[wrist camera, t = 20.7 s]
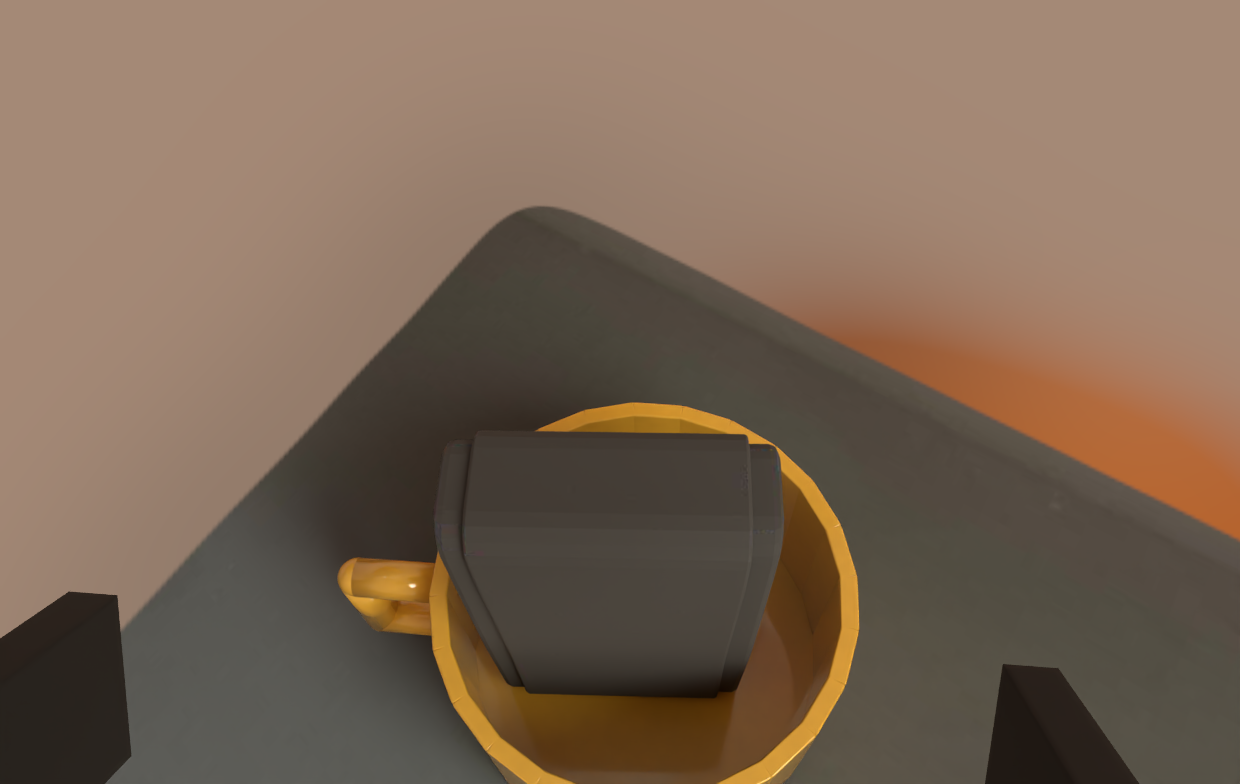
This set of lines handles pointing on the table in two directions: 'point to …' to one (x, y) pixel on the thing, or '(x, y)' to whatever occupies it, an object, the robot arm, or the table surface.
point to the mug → (649, 726)
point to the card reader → (612, 556)
